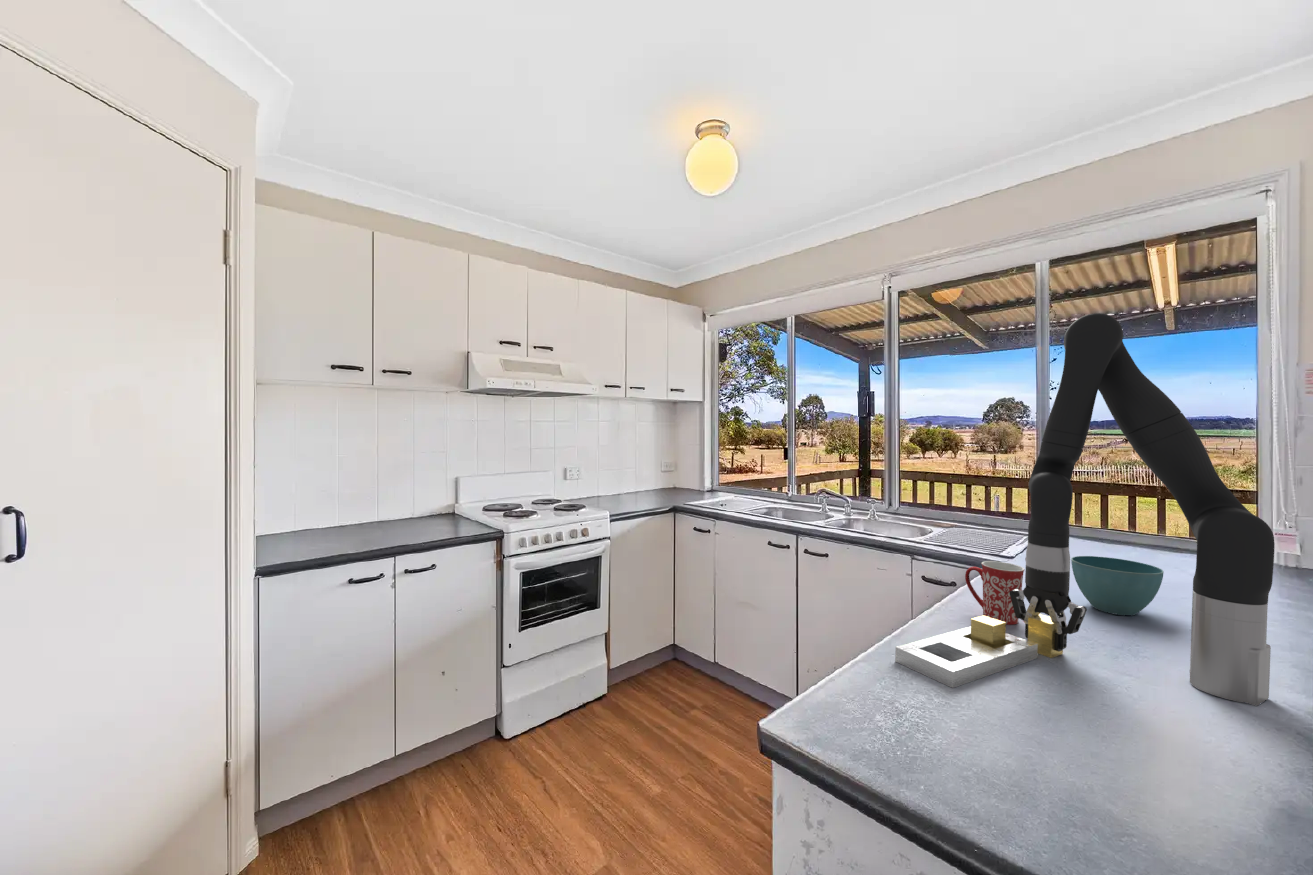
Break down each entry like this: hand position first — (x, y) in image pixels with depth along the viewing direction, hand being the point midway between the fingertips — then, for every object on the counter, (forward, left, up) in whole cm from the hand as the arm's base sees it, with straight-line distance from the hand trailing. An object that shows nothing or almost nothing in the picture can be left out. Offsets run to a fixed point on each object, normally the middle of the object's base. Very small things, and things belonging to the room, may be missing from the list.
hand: (1044, 645), depth 112 cm
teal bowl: (+6, -46, -2) cm, 46 cm away
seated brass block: (+5, +12, -1) cm, 13 cm away
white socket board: (+5, +19, -1) cm, 20 cm away
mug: (+17, -11, -2) cm, 20 cm away
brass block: (0, 0, -1) cm, 1 cm away
